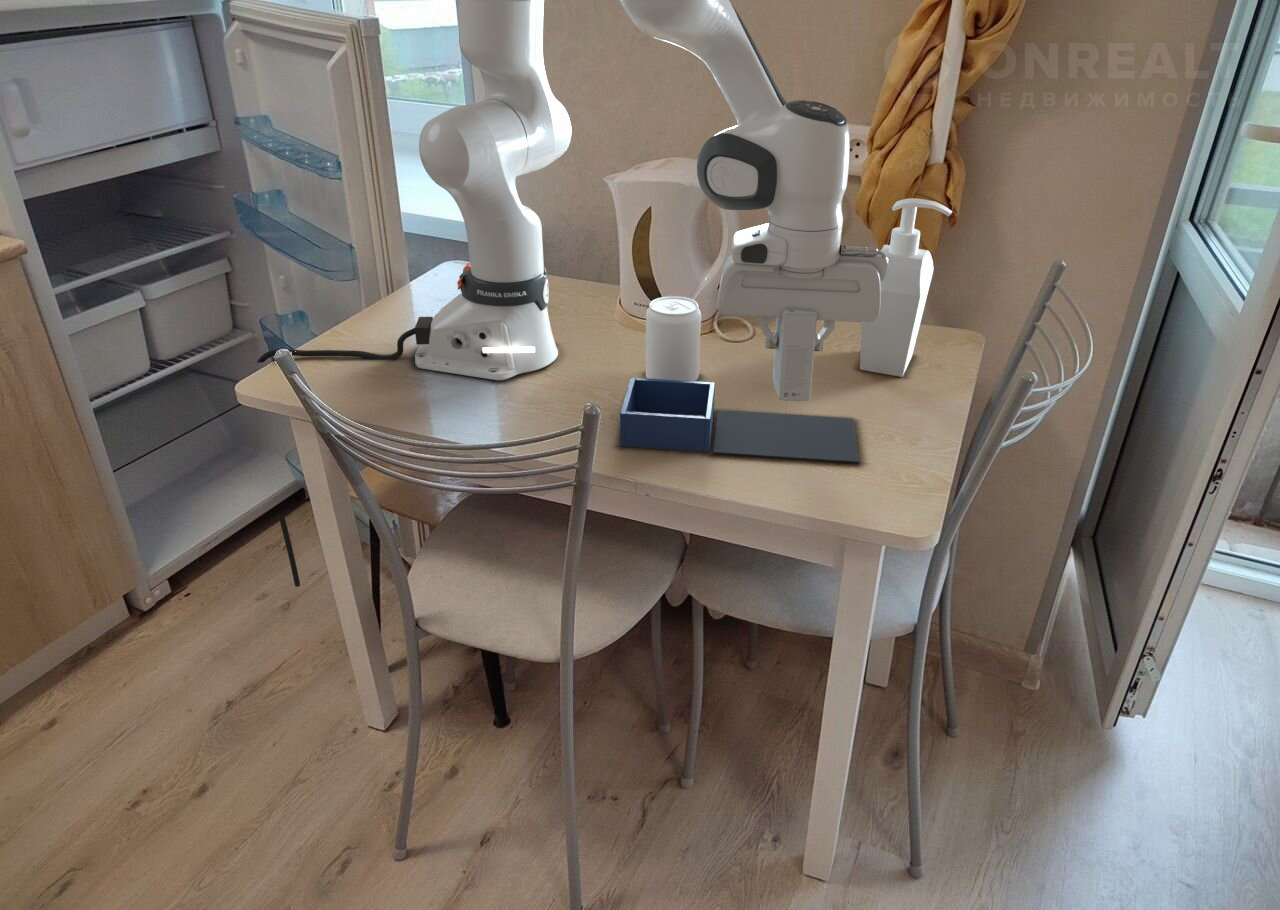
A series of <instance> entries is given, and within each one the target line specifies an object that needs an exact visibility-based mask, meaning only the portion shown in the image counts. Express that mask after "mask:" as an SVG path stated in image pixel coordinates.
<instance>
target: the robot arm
mask: <svg viewBox="0 0 1280 910" xmlns="http://www.w3.org/2000/svg"><path fill="white" fill-rule="evenodd" d="M618 1H619V3H620V5H621V7H622V8H623V10H624V11H625V13H626V15H627V16H628V17H629V19H630V20H631V21H632V23H633V24H634V26H636V28H637V29H638V30H639V31H641V32H643V33H644V34H646V35H647V36H650V37H652V38H654V39H657V40H659V41H663V42H667V43H670V44H672V45H675V46H678V47H680V48H682V49H684V50H685V51H688V52H689V53H691V54H693V55H694V56H695V57H697V58H699V60H701V61H702V63H703V64H704V65H705V66H706V67H707V68H708V69H709V71H710V73H711V74H712V76H713V78H714V80H715V83H717V85H718V88H719V90H720V91H721V94H722V95H723V97H724V98H725V101H726V103H727V104H728V106H729V108H730V110H731V112H732V114H733V116H734V117H735V119H736V122H737V125H734V126H732V127H729V128H726V129H724V130H722V131H719V132H718V133H716V134H715V135H713V136H711V137H709V138H708V139H707V140H706V142H705V143H704V144H703V145H702V146H701V149H700V150H699V153H698V157H697V160H696V161H697V162H696V174H697V180H698V184H699V186H700V188H701V190H702V192H703V194H704V196H705V197H706V198H707V199H708V201H710V202H711V203H712V204H713V205H714V206H716V207H718V208H720V209H723V210H727V211H753V210H754V211H755V210H765V211H767V213H768V223H764V224H761V225H757V226H752V227H749V228H745V229H742V230H741V229H740V230H739V231H736V232H735V233H734V234H733V237H732V239H731V242H730V254H729V255H728V256H727V257H726V260H725V262H724V264H723V268H722V272H721V277H720V281H719V282H720V283H719V288H718V296H717V310H718V311H719V313H721V315H722V316H727V317H728V316H731V317H749V318H758V326H759V328H760V329H761V331H762V334H763V335H764V337H765V349H766V350H768V349H769V350H771V349H772V350H774V349H777V340H778V333H777V332H775V331H772V330H771V328H770V326H769V325H770V323H771V319H776V318H782V315H783V310H805V311H814V312H816V313H817V321H822V328H821V329H820V331H819V332H818V333H815V346H814V352H823V351H824V346H825V345H824V344H825V340H827V338H829V336H830V334H831V333H832V332H833V331H834V330H835V326H836V322H848V323H850V322H851V323H862V322H868V323H870V322H873V321H874V320H875V319H876V318H877V317H878V316H879V314H880V303H881V288H880V282H881V281H883V280H884V278H885V277H886V274H887V268H888V259H887V257H886V255H885V254H884V253H883V252H881V250H878V248H877V247H875V246H866V247H865V246H864V247H863V246H855V245H841V240H842V233H843V223H844V217H843V216H844V215H843V209H842V205H843V198H844V196H845V192H846V191H847V187H848V181H849V170H850V155H851V154H850V153H851V146H850V145H851V135H850V128H849V127H850V126H849V124H848V120H847V118H846V116H845V115H844V114H843V113H842V112H840V111H839V110H838V109H837V108H835V107H834V106H831V105H829V104H826V103H823V102H819V101H815V100H814V101H813V100H811V101H810V100H805V99H804V100H803V99H799V100H791V101H789V102H787V101H786V100H785V98H784V97H783V95H782V93H781V91H780V90H779V88H778V86H777V83H776V82H775V80H774V79H773V77H772V74H771V72H770V70H769V68H768V67H767V65H766V62H765V60H764V59H763V56H762V55H761V53H760V51H759V50H758V49H759V48H758V47H757V45H756V44H755V42H754V40H753V38H752V35H751V34H750V32H749V29H748V27H747V26H746V24H745V23H744V21H743V20H742V18H741V16H740V14H739V12H738V11H737V9H736V8H735V6H734V4H733V3H732V1H731V0H618ZM544 6H545V0H458V45H459V49H460V52H461V54H462V55H463V57H464V58H465V59H466V61H467V62H468V63H469V64H470V65H472V67H474V68H476V69H478V70H479V72H480V75H481V78H482V81H483V87H484V98H483V100H482V101H477V102H472V103H468V104H463V105H459V106H454V107H452V108H450V109H447V110H446V111H443V112H442V113H440V114H438V115H436V116H434V117H432V118H431V119H429V120H428V121H427V122H426V123H425V124H424V125H423V127H422V129H421V132H420V135H419V139H418V140H419V141H418V151H419V158H420V161H421V164H422V167H423V169H424V170H425V172H426V174H427V176H429V178H430V179H431V180H432V181H433V182H434V183H435V184H436V185H438V187H440V188H442V189H444V190H445V191H446V192H448V194H449V195H450V196H451V197H452V199H453V200H454V202H455V203H456V205H457V208H458V209H459V212H460V214H461V216H462V219H463V222H464V227H465V231H466V232H465V233H466V239H467V245H468V254H469V255H468V256H469V262H467V263H466V265H465V266H464V267H463V269H462V273H460V275H459V277H458V278H459V279H458V280H457V282H456V283H457V284H456V285H457V290H458V291H459V290H460V293H459V294H458V295H455V297H454V298H453V299H451V300H450V301H448V303H446V304H445V305H443V306H442V307H441V308H440V309H439V310H437V312H436V313H435V314H434V315H433V316H419V317H418V318H417V322H416V323H415V325H414V327H413V328H412V329H409V330H407V331H405V332H403V333H402V334H401V335H400V336H399V337H398V339H397V342H396V349H397V350H396V352H394V353H391V354H377V353H373V352H368V351H364V350H363V351H362V350H347V349H346V350H345V349H341V350H340V349H314V350H313V349H312V350H309V349H307V350H305V349H303V350H302V349H292V348H287V349H288V350H289V351H291V352H292V355H291V356H295V357H357V358H364V359H370V360H396V359H398V358H400V357H402V355H403V353H404V344H405V341H407V339H408V338H410V337H412V336H414V335H415V342H416V343H415V344H416V345H418V347H417V349H416V351H415V354H414V362H415V366H416V367H417V368H418V369H422V370H428V371H435V372H442V373H447V374H454V375H460V376H466V377H474V378H480V379H487V380H493V381H506V380H508V379H511V378H513V377H515V376H517V375H520V374H524V373H525V374H526V373H529V372H533V371H537V370H540V369H543V368H545V367H547V366H549V365H551V364H552V363H553V362H555V360H556V359H557V358H558V356H559V350H558V347H557V345H556V341H555V339H554V338H555V337H554V335H553V331H552V327H551V322H550V317H549V316H550V315H549V311H548V304H549V299H550V295H549V293H550V292H549V291H550V290H549V279H548V273H547V272H548V271H547V268H546V267H545V265H544V247H543V228H542V221H541V219H540V217H539V216H538V214H537V213H536V212H535V211H533V209H532V208H530V207H528V206H527V205H525V204H522V201H521V200H520V197H519V194H518V190H517V186H516V180H517V177H521V176H523V175H527V174H530V173H533V172H537V171H540V170H542V169H544V168H546V167H548V166H549V165H551V164H552V163H554V162H555V161H557V160H558V159H559V158H560V157H562V156H564V154H565V153H566V152H567V151H568V149H569V146H570V145H571V141H572V124H571V120H570V116H569V114H568V112H567V110H566V108H565V107H564V105H563V104H562V102H560V101H559V99H557V98H556V97H555V95H554V94H553V92H552V89H551V87H550V84H549V81H548V80H549V79H548V77H547V73H546V69H545V62H544V61H545V60H544V12H545V11H544V10H545V7H544ZM878 254H879V255H881V256H877V255H878ZM279 349H280V348H276V349H272V350H268V351H265V352H264V353H263V354H261V356H259V358H258V359H257V361H256V363H259V364H261V363H264V362H266V361H267V360H268V359H270V358H272V357H274V355H275V353H276V351H277V350H279ZM295 351H296V352H295ZM275 356H276V355H275ZM277 515H278V521H279V524H280V528H281V531H282V535H283V540H284V544H285V548H286V552H287V557H288V560H289V565H290V569H291V574H292V577H293V582H294V587H296V588H298V587H300V586H301V581H300V576H299V573H298V572H299V571H298V567H297V562H296V558H295V554H294V550H293V545H292V542H291V541H292V540H291V537H290V533H289V529H288V525H287V522H286V517H285V515H282V514H277Z"/></svg>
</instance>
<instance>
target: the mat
mask: <svg viewBox="0 0 1280 910" xmlns="http://www.w3.org/2000/svg"><path fill="white" fill-rule="evenodd" d="M714 431H715V432H714V438H713V439H714V441H713V448H712V449H713V450H712V455H714V456H728V457H729V456H730V457H744V458H760V459H774V460H775V459H776V460H790V461H804V462H805V461H806V462H816V463H817V462H819V463H832V464H833V463H834V464H847V465H848V464H849V465H860V457H859V451H858V449H859V448H858V444H857V437H856V436H857V435H856V430H855V424H854V418H852V417H837V416H836V417H835V416H824V415H823V416H822V415H804V414H790V413H789V414H788V413H772V412H756V411H743V410H725V409H724V410H723V409H717V414H716V423H715V430H714Z"/></svg>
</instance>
